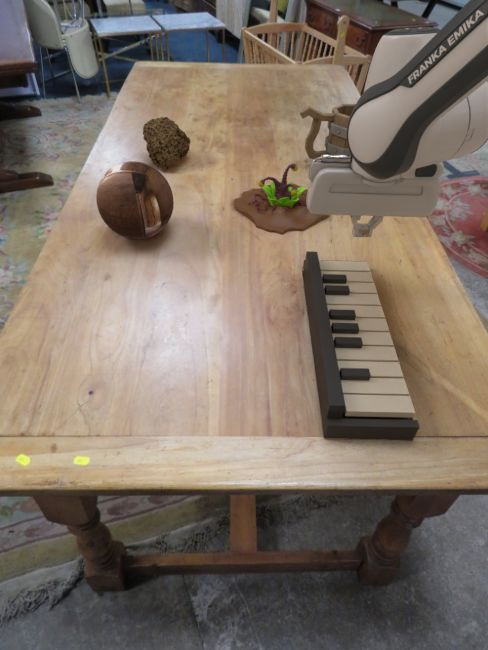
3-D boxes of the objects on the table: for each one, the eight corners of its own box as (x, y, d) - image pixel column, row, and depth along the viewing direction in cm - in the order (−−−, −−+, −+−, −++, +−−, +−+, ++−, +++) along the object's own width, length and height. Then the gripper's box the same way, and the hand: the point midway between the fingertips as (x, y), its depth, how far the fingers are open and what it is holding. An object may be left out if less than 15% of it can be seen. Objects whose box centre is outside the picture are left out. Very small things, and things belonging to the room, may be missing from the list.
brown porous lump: (156, 177, 113) (124, 128, 112) (188, 172, 123) (159, 127, 123) (181, 147, 105) (147, 95, 105) (212, 145, 116) (181, 97, 115)
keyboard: (364, 274, 84) (371, 248, 80) (412, 440, 58) (426, 415, 54) (302, 273, 84) (305, 247, 80) (323, 438, 58) (330, 413, 54)
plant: (344, 222, 97) (354, 174, 89) (272, 248, 90) (276, 198, 82) (290, 185, 109) (295, 140, 101) (223, 205, 101) (222, 158, 94)
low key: (366, 266, 81) (367, 261, 80) (369, 275, 79) (370, 270, 78) (318, 265, 81) (318, 260, 80) (319, 274, 79) (320, 269, 78)
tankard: (361, 155, 122) (374, 97, 112) (372, 175, 114) (387, 115, 103) (291, 154, 122) (297, 96, 111) (296, 175, 113) (303, 114, 102)
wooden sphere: (104, 219, 96) (88, 152, 86) (171, 211, 99) (164, 145, 89) (106, 258, 86) (88, 187, 76) (181, 248, 89) (174, 179, 78)
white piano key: (407, 400, 59) (410, 395, 58) (412, 417, 57) (415, 412, 57) (341, 399, 59) (343, 394, 58) (344, 416, 57) (346, 411, 57)
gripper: (313, 163, 62) (301, 244, 72) (455, 167, 62) (424, 247, 72) (309, 145, 66) (298, 223, 76) (442, 148, 67) (414, 226, 77)
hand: (361, 235), depth 74 cm, fingers closed
